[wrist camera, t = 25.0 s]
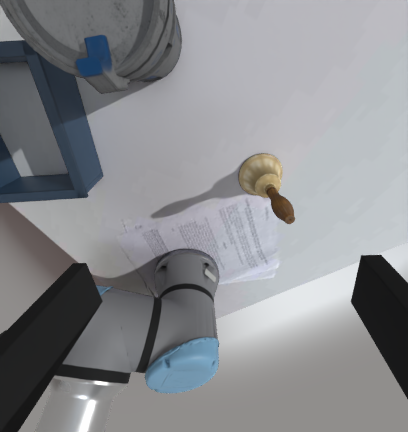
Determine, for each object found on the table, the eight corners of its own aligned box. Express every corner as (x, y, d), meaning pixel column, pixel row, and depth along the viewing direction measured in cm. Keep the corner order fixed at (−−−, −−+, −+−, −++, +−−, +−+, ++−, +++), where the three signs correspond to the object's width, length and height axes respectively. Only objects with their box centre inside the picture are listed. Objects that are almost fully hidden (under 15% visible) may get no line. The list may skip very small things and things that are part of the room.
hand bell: (273, 197, 46) (307, 247, 32) (233, 191, 44) (251, 240, 31) (288, 157, 41) (336, 194, 28) (245, 149, 40) (272, 183, 27)
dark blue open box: (105, 177, 42) (86, 197, 35) (17, 182, 42) (-21, 204, 34) (69, 49, 32) (32, 39, 25) (-46, 56, 32) (-118, 47, 25)
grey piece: (169, -43, 28) (91, -457, 6) (188, 80, 35) (182, 78, 13) (89, -28, 28) (-233, -369, 7) (124, 92, 35) (16, 108, 14)
